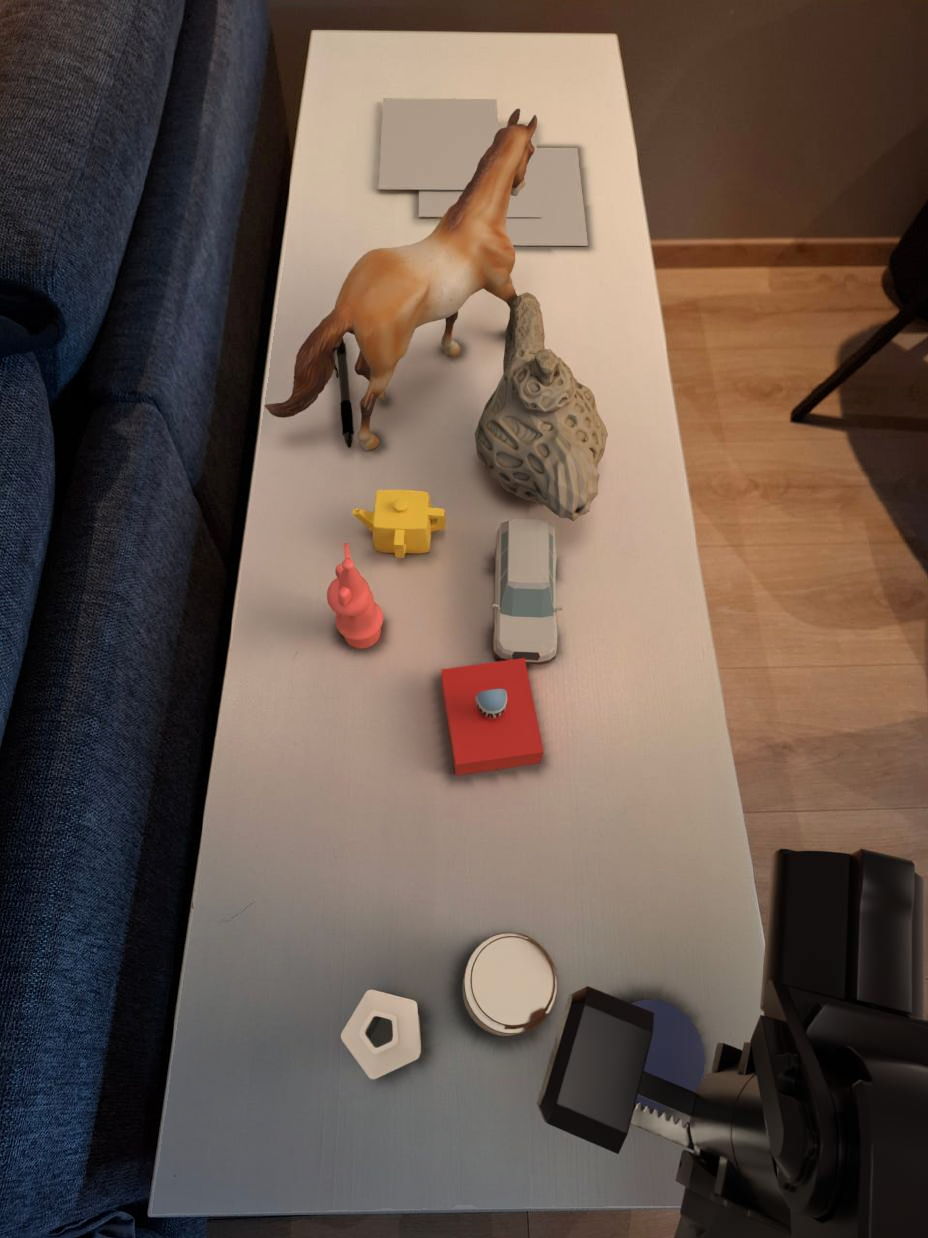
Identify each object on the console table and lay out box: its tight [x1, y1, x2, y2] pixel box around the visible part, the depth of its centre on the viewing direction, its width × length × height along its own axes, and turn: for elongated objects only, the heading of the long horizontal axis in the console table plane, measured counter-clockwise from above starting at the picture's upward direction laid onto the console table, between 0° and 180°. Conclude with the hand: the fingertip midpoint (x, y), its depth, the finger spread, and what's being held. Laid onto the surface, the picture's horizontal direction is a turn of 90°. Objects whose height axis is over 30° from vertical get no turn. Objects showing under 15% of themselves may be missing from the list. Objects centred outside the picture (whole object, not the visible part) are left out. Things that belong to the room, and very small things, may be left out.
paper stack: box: [378, 97, 589, 247], centre depth 100 cm, size 23×25×1 cm
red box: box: [440, 658, 545, 776], centre depth 67 cm, size 8×7×6 cm
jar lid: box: [630, 998, 706, 1112], centre depth 58 cm, size 7×7×2 cm
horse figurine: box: [264, 108, 538, 451], centre depth 77 cm, size 31×8×21 cm, turn 133°
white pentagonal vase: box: [340, 989, 422, 1080], centre depth 53 cm, size 5×4×15 cm
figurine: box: [326, 542, 384, 650], centre depth 68 cm, size 4×4×12 cm
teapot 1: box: [352, 489, 447, 559], centre depth 75 cm, size 8×6×5 cm
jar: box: [461, 931, 559, 1037], centre depth 57 cm, size 6×6×9 cm
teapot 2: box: [474, 292, 609, 522], centre depth 75 cm, size 21×12×15 cm, turn 12°
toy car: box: [491, 518, 563, 666], centre depth 73 cm, size 6×13×5 cm, turn 178°
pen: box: [333, 337, 355, 449], centre depth 84 cm, size 14×2×1 cm, turn 7°
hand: (700, 1115), depth 47 cm, fingers open, 9 cm apart
